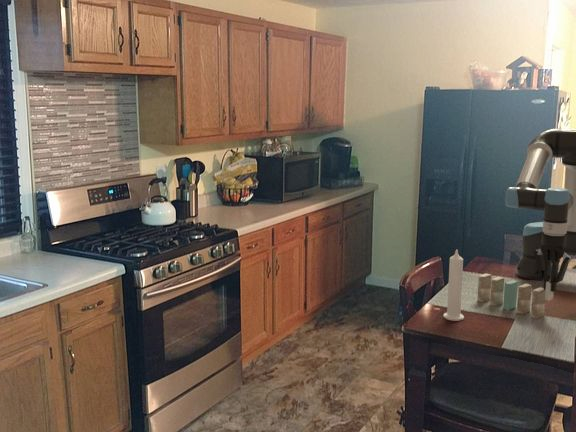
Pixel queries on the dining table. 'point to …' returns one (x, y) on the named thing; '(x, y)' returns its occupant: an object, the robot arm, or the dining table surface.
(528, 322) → the dining table surface
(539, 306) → the tile
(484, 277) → the light brown flat block
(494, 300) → the tile
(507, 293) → the tile
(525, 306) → the tile
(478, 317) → the dining table surface
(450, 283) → the white post
